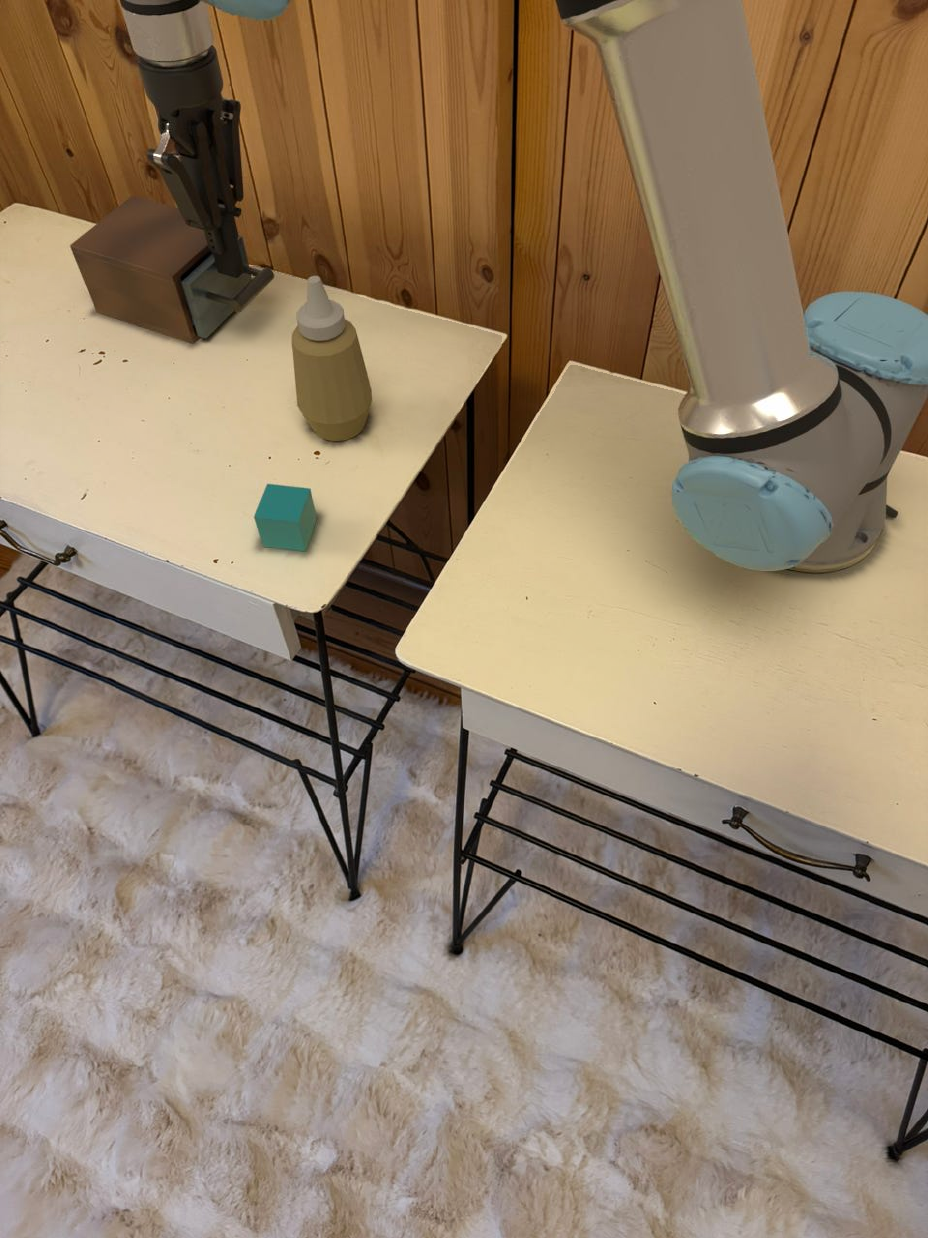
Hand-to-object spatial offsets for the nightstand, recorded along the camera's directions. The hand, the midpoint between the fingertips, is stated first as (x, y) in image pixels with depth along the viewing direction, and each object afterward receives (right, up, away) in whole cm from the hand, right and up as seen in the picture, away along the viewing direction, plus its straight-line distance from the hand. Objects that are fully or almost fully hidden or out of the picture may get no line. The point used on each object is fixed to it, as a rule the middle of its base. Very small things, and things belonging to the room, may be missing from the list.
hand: (231, 271), depth 105 cm
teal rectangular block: (+9, -31, -14) cm, 35 cm away
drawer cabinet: (-9, 0, +9) cm, 13 cm away
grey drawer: (-5, -2, +7) cm, 9 cm away
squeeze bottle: (+13, -19, -5) cm, 23 cm away
